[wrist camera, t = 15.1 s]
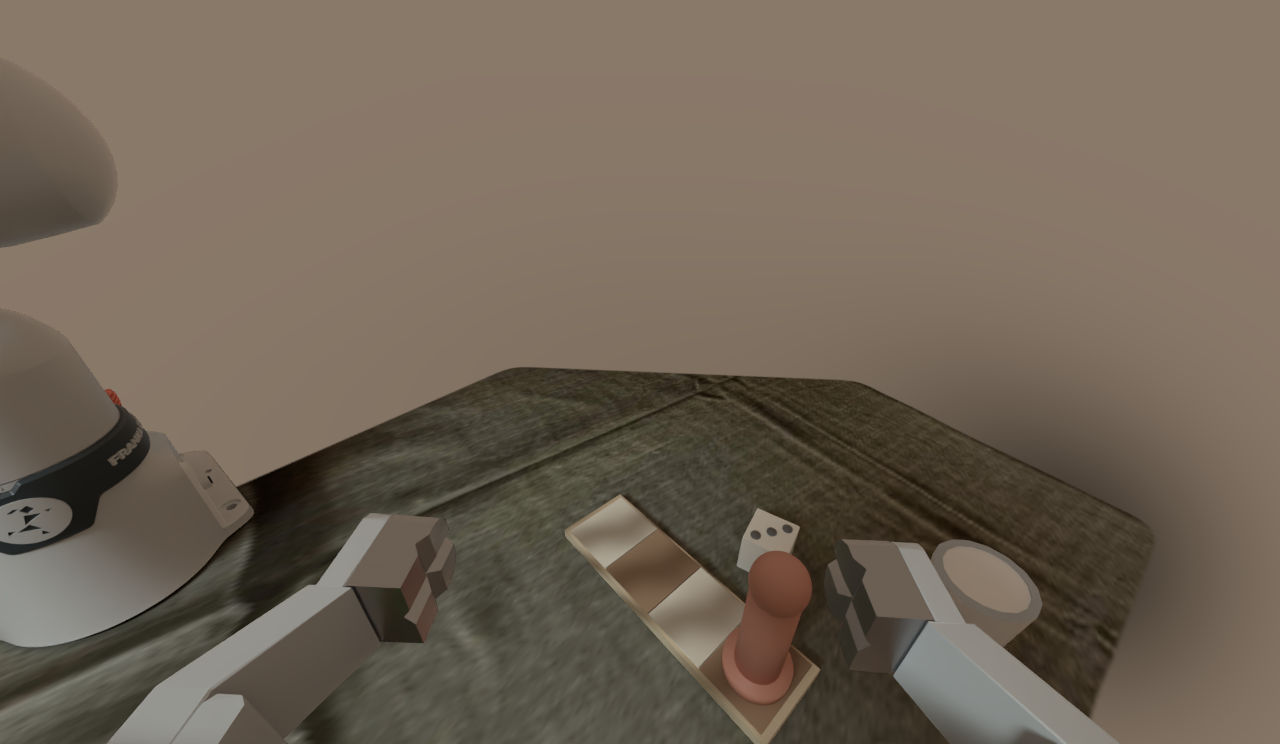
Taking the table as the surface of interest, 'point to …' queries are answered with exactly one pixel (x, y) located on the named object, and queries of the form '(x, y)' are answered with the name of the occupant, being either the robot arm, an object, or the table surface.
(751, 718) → the board
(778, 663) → the pawn
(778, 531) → the die
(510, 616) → the table surface
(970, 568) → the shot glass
